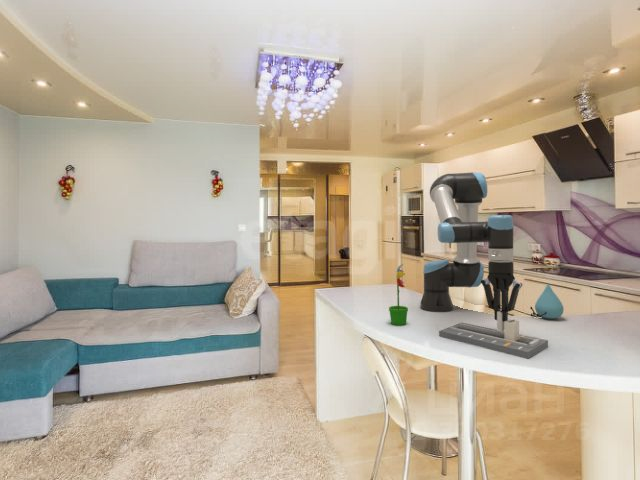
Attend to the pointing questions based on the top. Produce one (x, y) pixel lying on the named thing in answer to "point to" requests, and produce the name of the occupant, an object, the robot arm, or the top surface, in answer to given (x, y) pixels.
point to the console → (494, 340)
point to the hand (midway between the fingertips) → (501, 330)
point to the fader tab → (511, 330)
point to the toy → (548, 305)
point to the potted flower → (398, 312)
